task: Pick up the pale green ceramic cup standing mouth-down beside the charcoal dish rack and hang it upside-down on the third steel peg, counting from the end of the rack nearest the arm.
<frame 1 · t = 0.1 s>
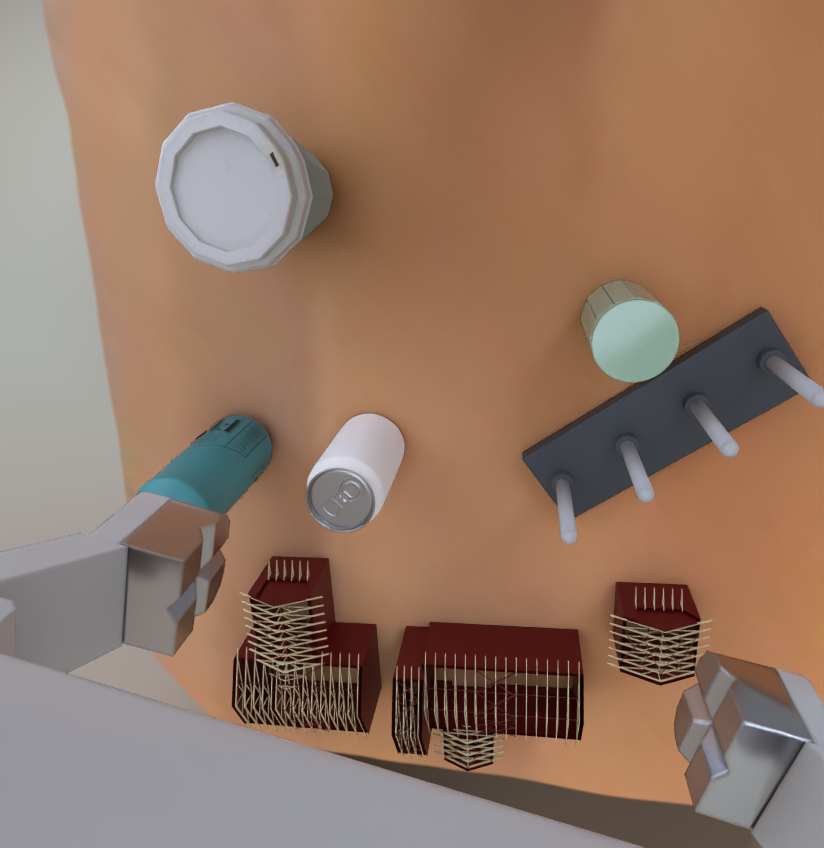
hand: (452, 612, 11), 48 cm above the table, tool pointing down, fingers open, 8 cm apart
toy houses: (464, 634, 69), on the table
dish rack: (656, 418, 58), on the table
can: (372, 443, 63), on the table
beverage bottle: (249, 438, 65), on the table
disposable coffee cup: (295, 188, 56), on the table
cup: (618, 317, 56), on the table
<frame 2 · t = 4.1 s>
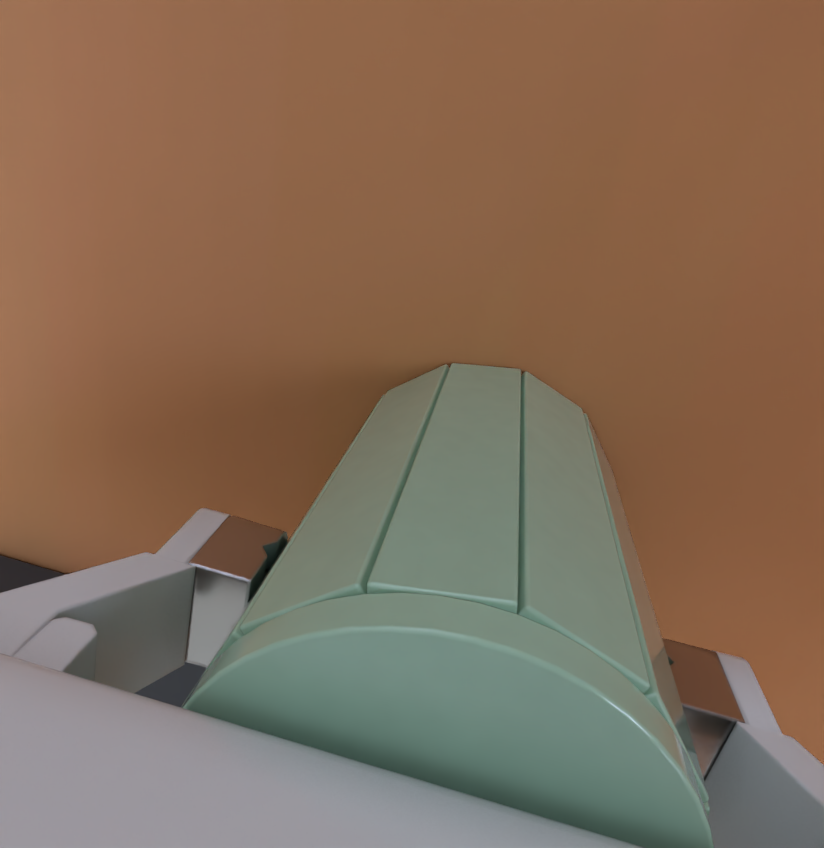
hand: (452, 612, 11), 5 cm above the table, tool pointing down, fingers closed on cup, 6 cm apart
dish rack: (324, 756, 19), on the table
cup: (475, 490, 15), on the table, touching gripper
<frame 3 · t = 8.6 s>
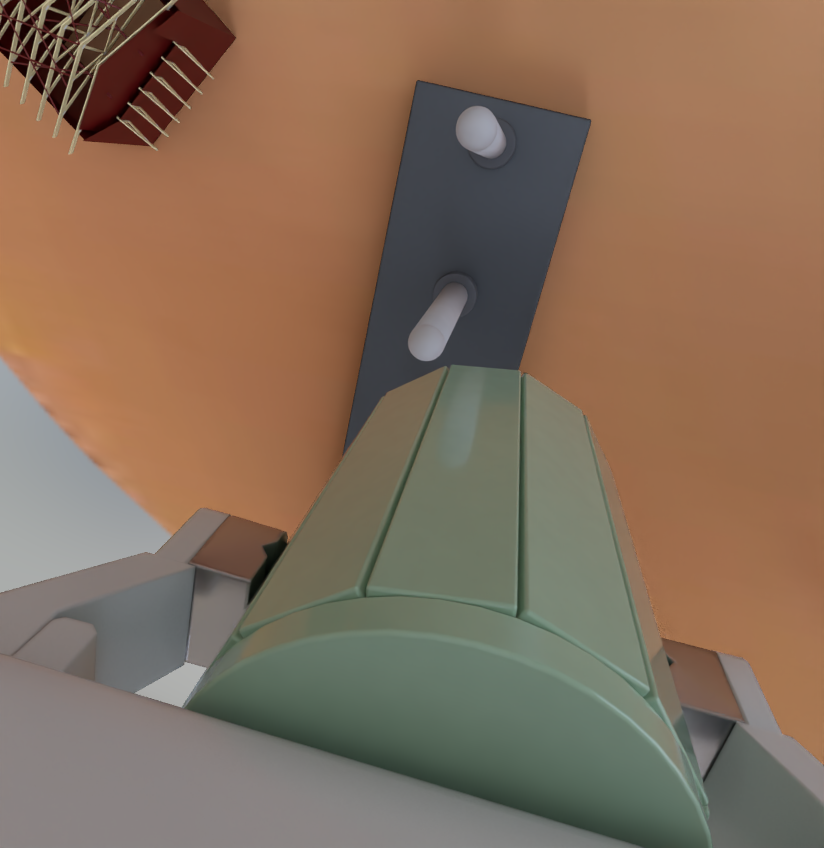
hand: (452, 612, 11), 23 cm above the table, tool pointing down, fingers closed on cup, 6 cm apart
dish rack: (443, 351, 33), on the table
cup: (474, 491, 15), point 18 cm above the table, touching gripper
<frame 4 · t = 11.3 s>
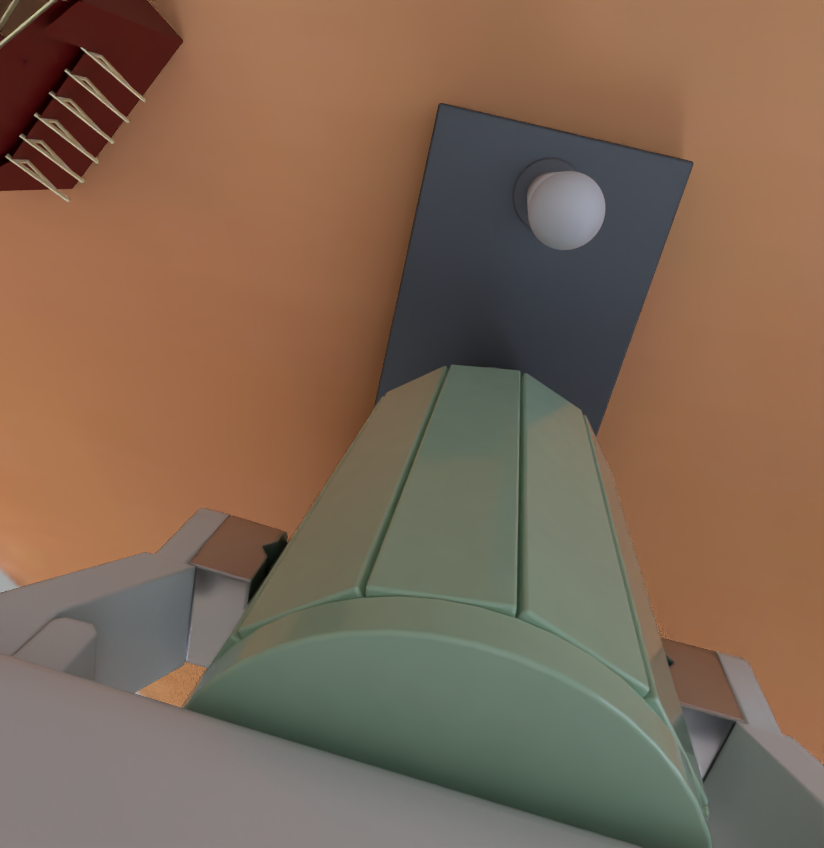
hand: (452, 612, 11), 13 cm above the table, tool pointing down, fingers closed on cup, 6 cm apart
dish rack: (469, 463, 25), on the table
cup: (474, 491, 15), point 9 cm above the table, touching gripper
when the fingers open (8 cm above the table, at t = 13.3 s): cup stays where it is, resting on dish rack.
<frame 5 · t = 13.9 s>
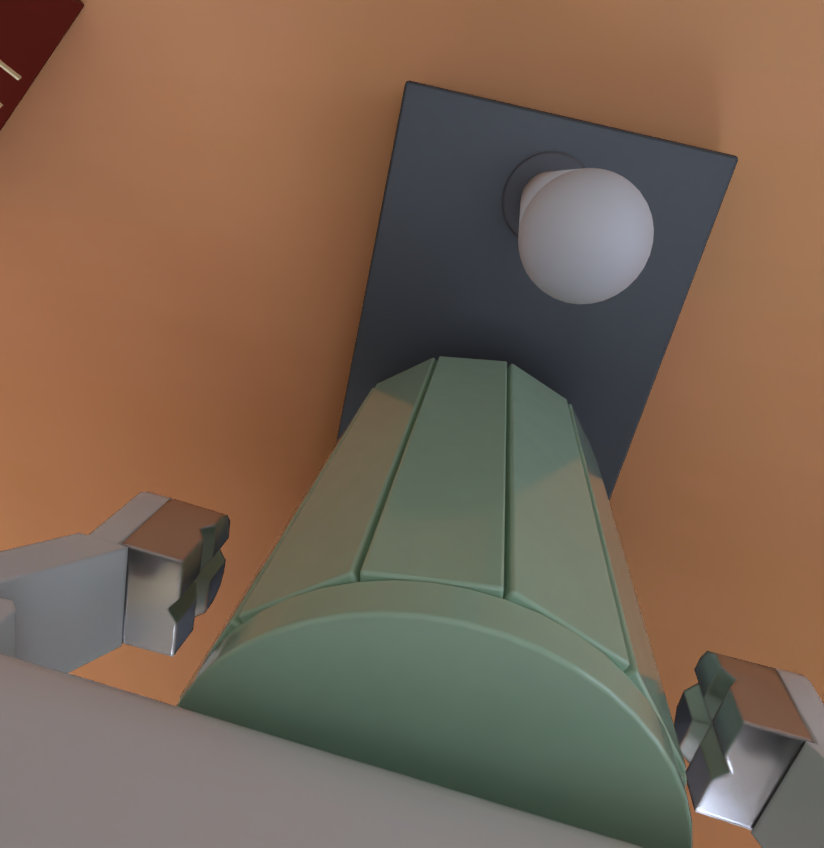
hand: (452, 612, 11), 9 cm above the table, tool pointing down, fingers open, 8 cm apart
dish rack: (452, 526, 20), on the table
cup: (463, 480, 16), point 4 cm above the table, touching dish rack
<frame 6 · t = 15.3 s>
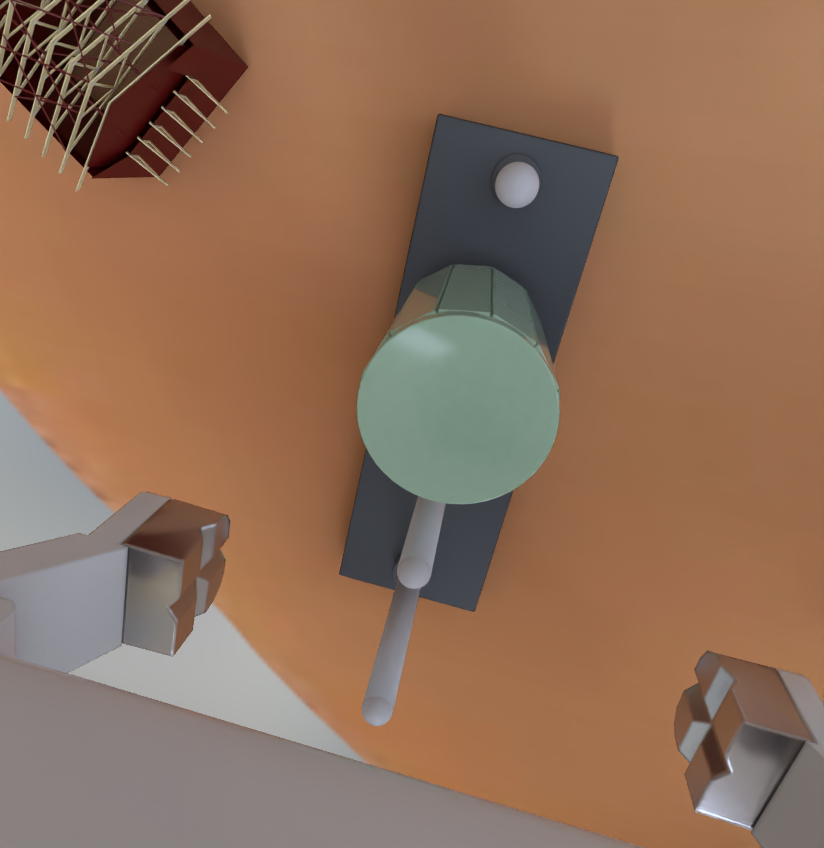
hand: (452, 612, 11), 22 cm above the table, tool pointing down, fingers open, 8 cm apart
dish rack: (460, 386, 33), on the table
cup: (467, 337, 28), point 4 cm above the table, touching dish rack
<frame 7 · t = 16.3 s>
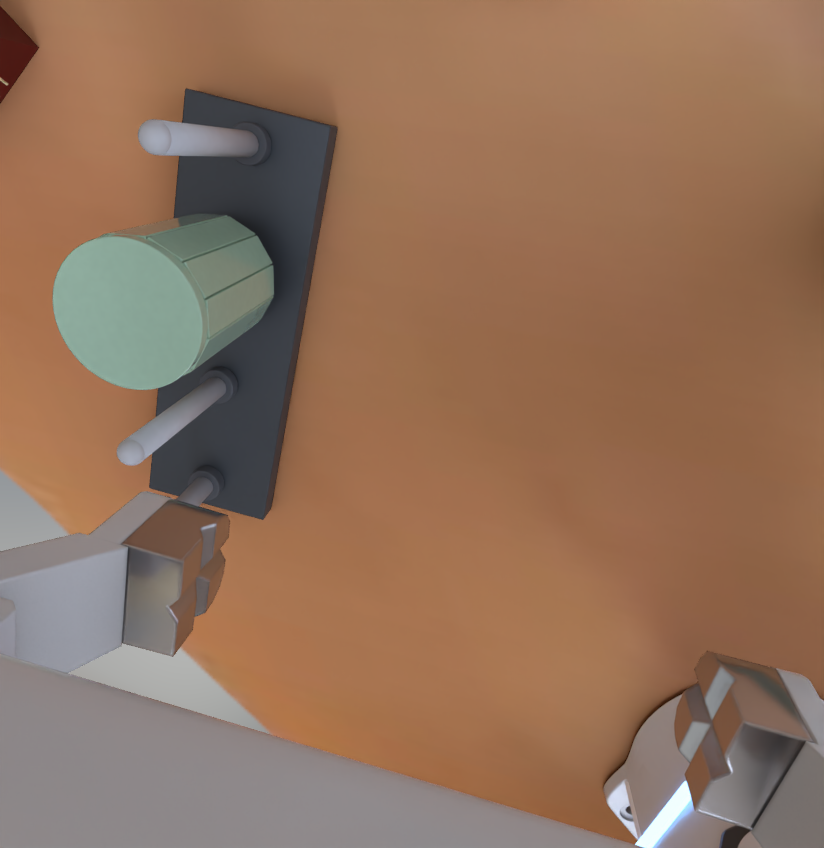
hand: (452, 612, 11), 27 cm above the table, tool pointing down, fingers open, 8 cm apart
dish rack: (238, 323, 38), on the table
cup: (216, 275, 34), point 4 cm above the table, touching dish rack
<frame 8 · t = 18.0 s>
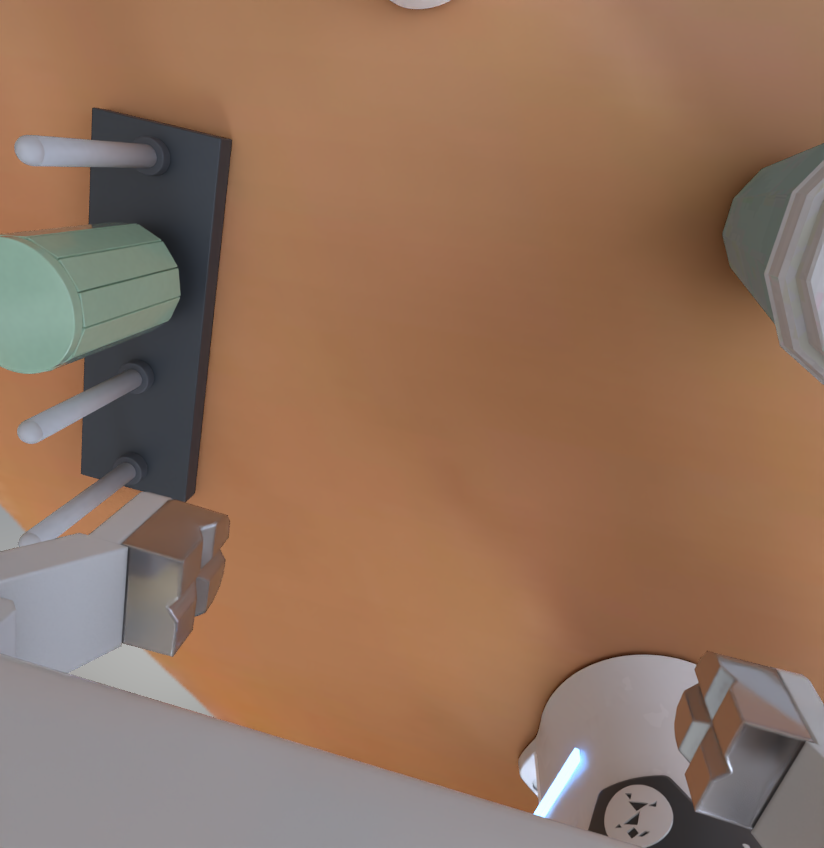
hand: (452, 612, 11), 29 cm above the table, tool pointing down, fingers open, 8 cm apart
dish rack: (155, 320, 42), on the table
disposable coffee cup: (792, 228, 35), on the table
cup: (130, 278, 37), point 4 cm above the table, touching dish rack
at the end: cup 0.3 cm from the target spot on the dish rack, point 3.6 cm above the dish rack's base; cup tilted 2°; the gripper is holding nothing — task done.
